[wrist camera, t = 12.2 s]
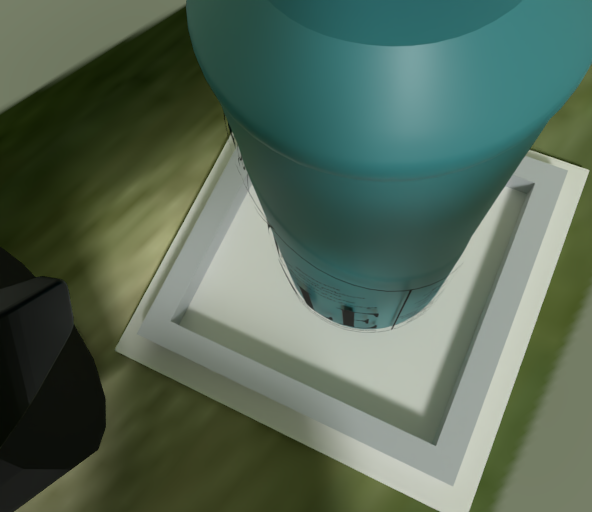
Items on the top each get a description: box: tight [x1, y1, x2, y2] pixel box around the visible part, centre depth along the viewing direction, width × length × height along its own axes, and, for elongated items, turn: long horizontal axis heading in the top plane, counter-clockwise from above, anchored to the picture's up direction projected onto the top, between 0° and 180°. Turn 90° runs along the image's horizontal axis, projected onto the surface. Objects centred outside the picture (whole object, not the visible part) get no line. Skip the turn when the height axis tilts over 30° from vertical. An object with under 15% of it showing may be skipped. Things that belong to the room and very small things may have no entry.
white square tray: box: [115, 133, 589, 512], centre depth 23 cm, size 15×15×2 cm
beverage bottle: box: [186, 0, 592, 333], centre depth 13 cm, size 6×7×20 cm
